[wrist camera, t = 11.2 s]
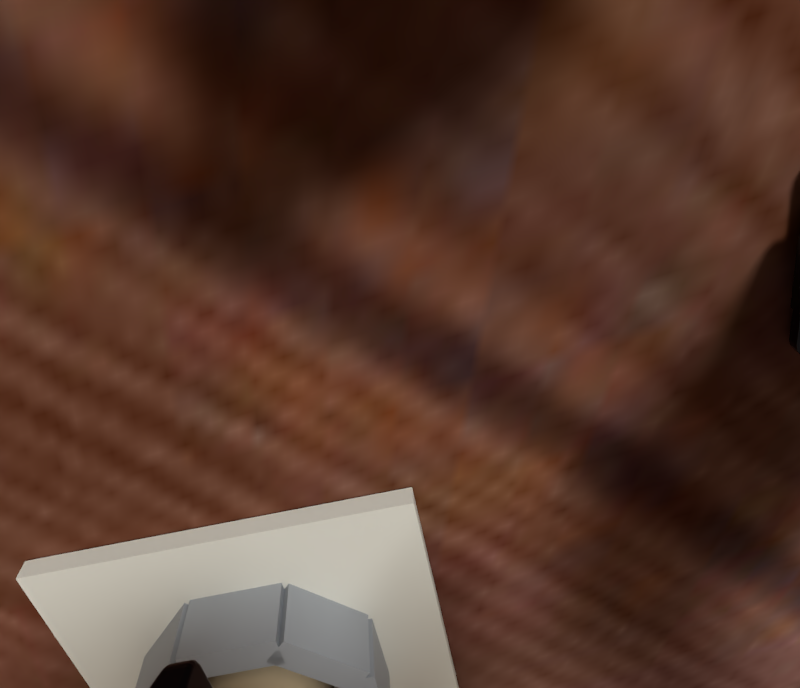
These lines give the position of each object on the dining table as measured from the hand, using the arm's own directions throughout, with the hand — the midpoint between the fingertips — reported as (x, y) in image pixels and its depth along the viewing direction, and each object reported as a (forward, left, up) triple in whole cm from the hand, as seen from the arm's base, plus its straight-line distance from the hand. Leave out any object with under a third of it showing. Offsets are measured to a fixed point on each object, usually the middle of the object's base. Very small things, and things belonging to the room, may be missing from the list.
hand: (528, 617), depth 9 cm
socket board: (+9, +15, -12) cm, 21 cm away
